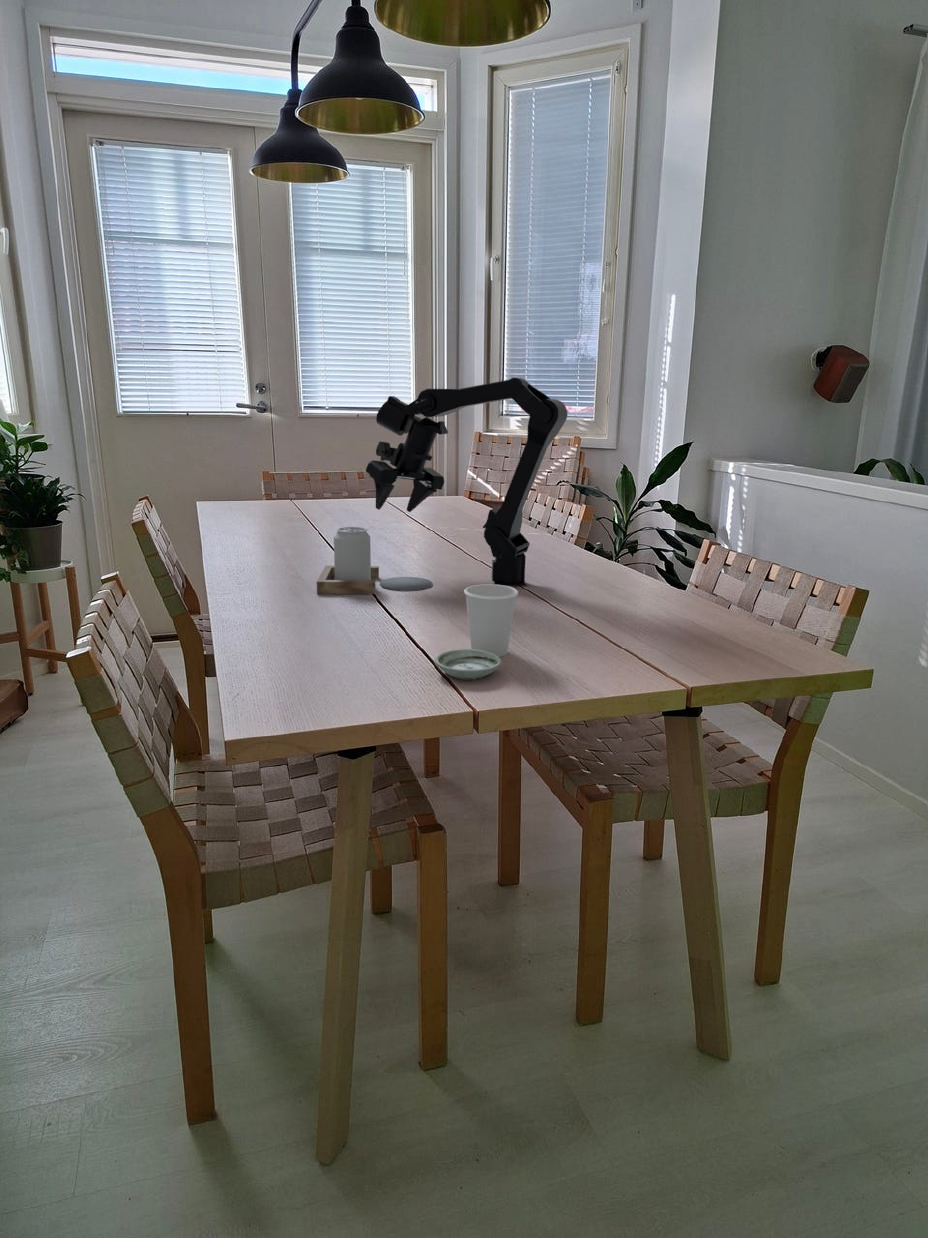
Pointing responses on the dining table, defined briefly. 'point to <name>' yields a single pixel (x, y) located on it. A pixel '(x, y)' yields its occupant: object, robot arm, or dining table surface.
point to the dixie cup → (490, 616)
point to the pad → (405, 583)
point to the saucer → (467, 663)
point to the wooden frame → (345, 583)
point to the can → (352, 554)
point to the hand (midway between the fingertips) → (393, 509)
